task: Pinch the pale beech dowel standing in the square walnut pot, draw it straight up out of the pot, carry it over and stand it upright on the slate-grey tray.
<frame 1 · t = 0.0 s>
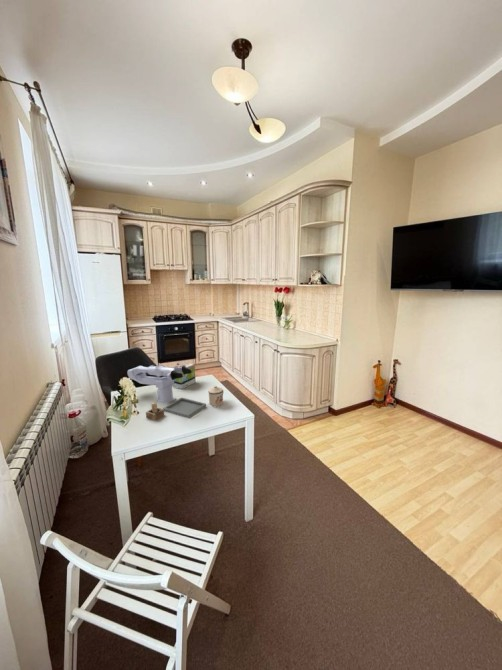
hand: (186, 373, 163), 22 cm above the table, tool horizontal, fingers open, 7 cm apart
tray: (185, 409, 164), on the table
tea box: (184, 384, 202), on the table
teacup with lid: (217, 402, 172), on the table
dowel: (155, 416, 156), resting on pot
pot: (155, 417, 156), on the table
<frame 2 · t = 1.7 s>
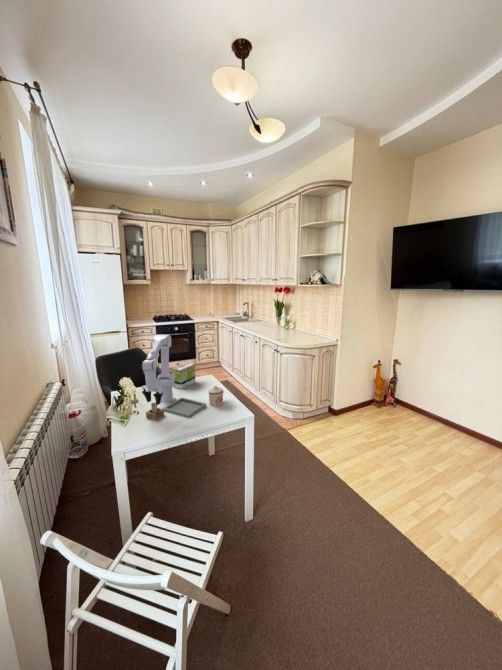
hand: (153, 402, 154), 9 cm above the table, tool pointing down, fingers open, 7 cm apart
nothing on the table moved.
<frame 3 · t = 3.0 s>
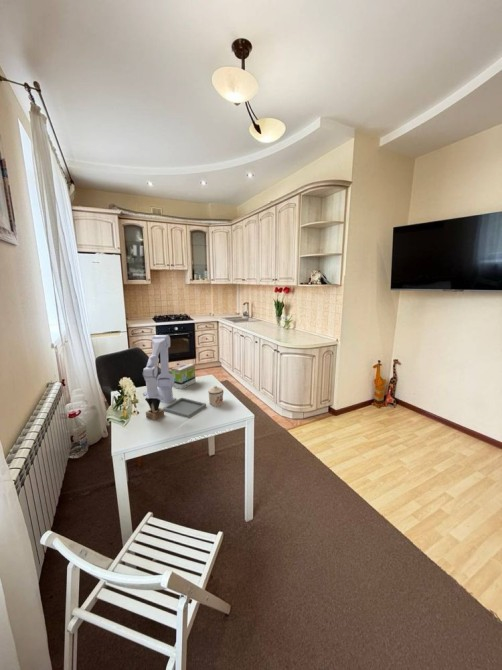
hand: (154, 409, 155), 5 cm above the table, tool pointing down, fingers closed on dowel, 3 cm apart
dowel: (155, 416, 156), resting on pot, touching gripper
everything else where it was.
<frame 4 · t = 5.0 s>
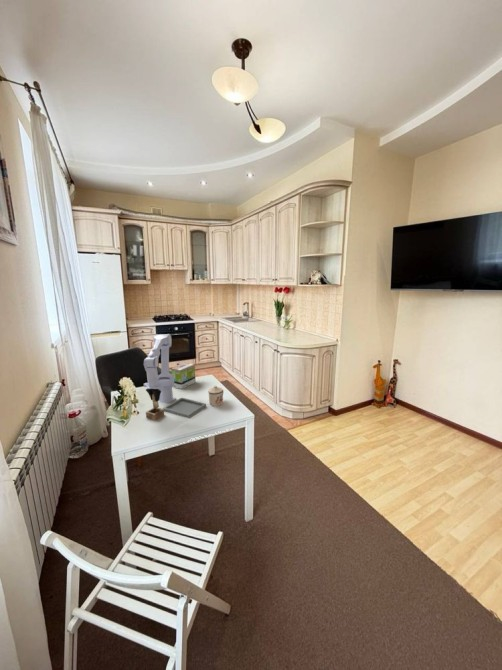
hand: (155, 400, 154), 10 cm above the table, tool pointing down, fingers closed on dowel, 3 cm apart
dowel: (156, 407, 155), point 6 cm above the table, touching gripper
everything else where it was.
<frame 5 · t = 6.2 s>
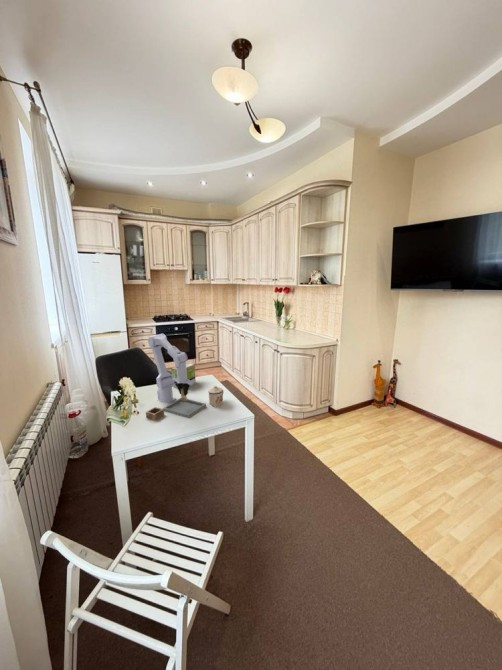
hand: (183, 394, 162), 10 cm above the table, tool pointing down, fingers closed on dowel, 3 cm apart
dowel: (184, 400, 163), point 5 cm above the table, touching gripper
everything else where it was.
when the fingers open (6 cm above the table, at t = 7.1 s): dowel stays where it is, resting on tray.
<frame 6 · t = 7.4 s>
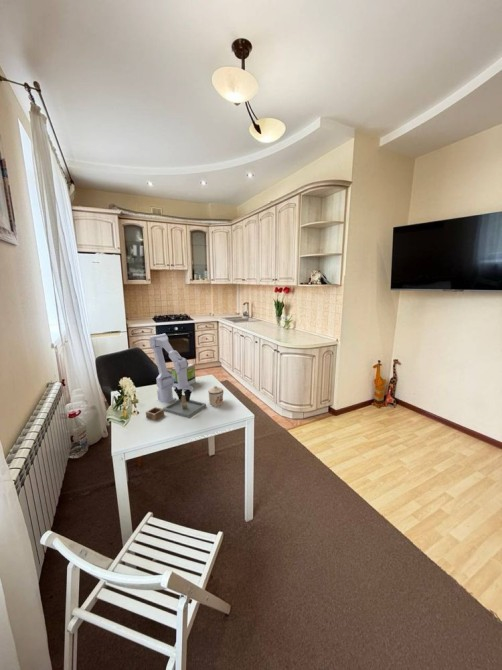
hand: (184, 399, 163), 6 cm above the table, tool pointing down, fingers open, 5 cm apart
dowel: (184, 408, 164), point 1 cm above the table, touching tray
everything else where it was.
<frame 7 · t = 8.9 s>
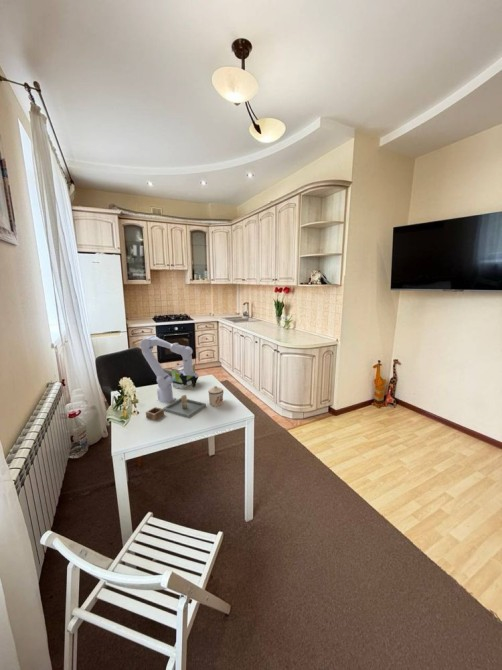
hand: (189, 386, 173), 10 cm above the table, tool pointing down, fingers open, 7 cm apart
nothing on the table moved.
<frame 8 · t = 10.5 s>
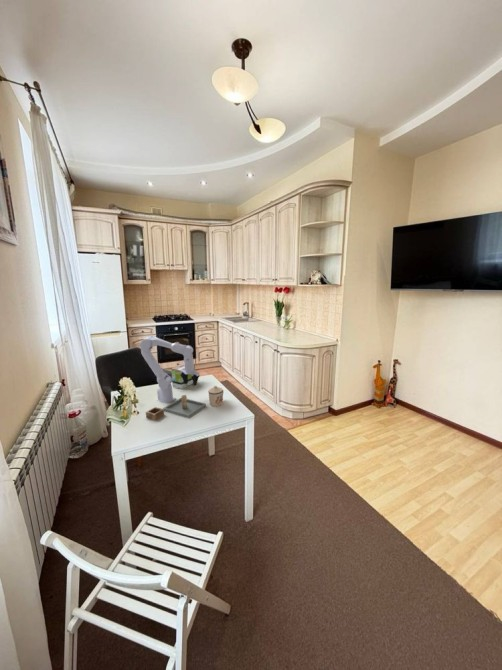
hand: (190, 384, 175), 10 cm above the table, tool pointing down, fingers open, 7 cm apart
nothing on the table moved.
at the end: dowel inside the target area on the tray (0.1 cm from its centre), point 0.6 cm above the tray's base; dowel tilted 0°; the gripper is holding nothing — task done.
